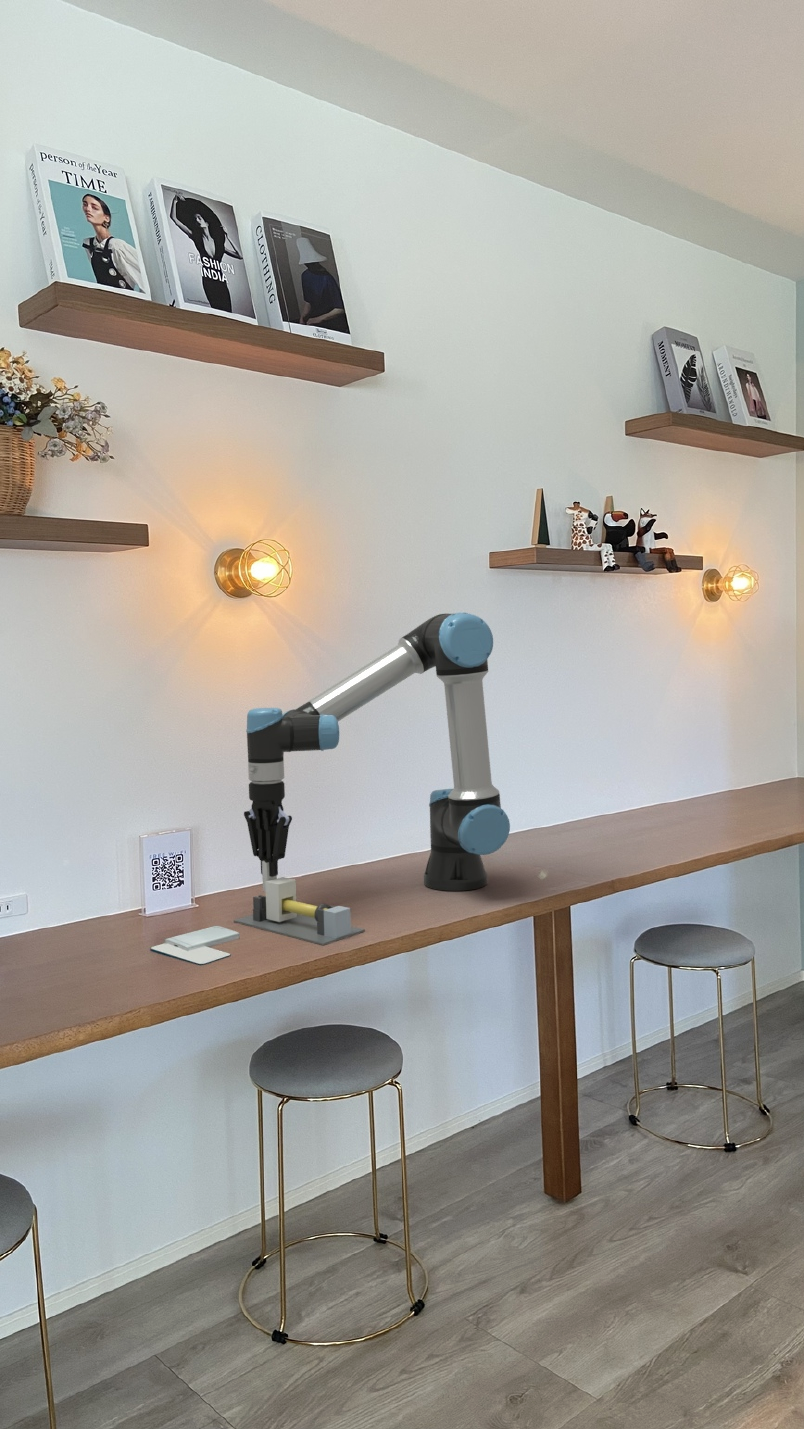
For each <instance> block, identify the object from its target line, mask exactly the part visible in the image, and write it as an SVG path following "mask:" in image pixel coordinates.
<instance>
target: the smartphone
mask: <svg viewBox="0 0 804 1429" xmlns="http://www.w3.org/2000/svg"><path fill="white" fill-rule="evenodd" d="M150 952H153V953H157V954H160V955H162V956H166V957H169V958H173V959H177V960H180V961H184V962H186V963H190V964H193V965H197V966H204V965H208V964H212V963H214V962H217V961H218V962H219V961H220V960H223V959H225V958H230V957H231V955H232V954H231V953H230V952H226V951H224V950H220V949H217V948H213V947H211V946H210V947H207V946H204V947H201V948H197V949H193V950H189V951H186V950H183V949H181V948H178V947H176V946H173V945H171V944H168V943H164V942H163V943H160V944H157V945H156V944H155V945H153V946H151V947H150Z"/></svg>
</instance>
